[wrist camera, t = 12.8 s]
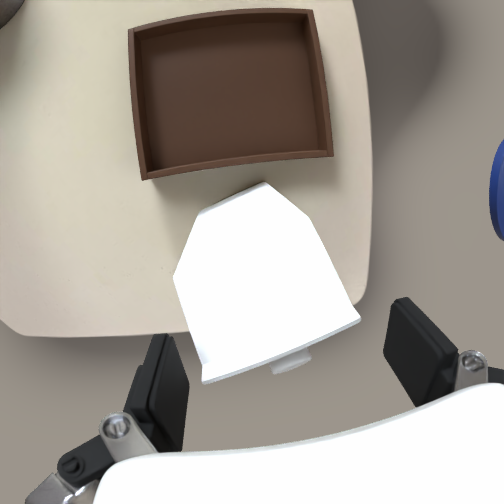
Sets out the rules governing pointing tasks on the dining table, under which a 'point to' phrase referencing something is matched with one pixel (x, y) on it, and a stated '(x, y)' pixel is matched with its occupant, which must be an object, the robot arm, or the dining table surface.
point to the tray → (228, 90)
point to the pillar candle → (8, 10)
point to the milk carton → (258, 285)
